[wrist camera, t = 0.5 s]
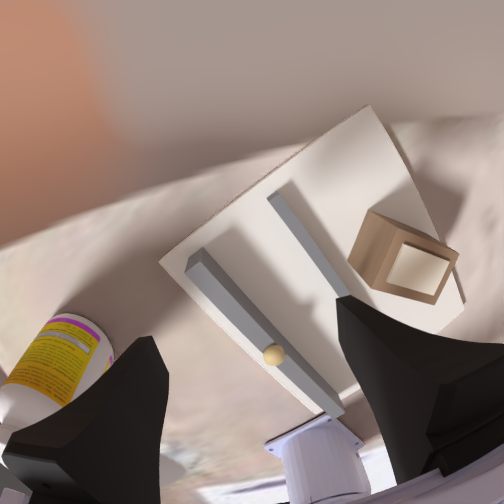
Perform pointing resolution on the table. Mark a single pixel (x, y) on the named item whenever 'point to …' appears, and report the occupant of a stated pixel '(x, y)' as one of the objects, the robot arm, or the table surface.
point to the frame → (401, 259)
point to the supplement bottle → (53, 372)
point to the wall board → (307, 259)
